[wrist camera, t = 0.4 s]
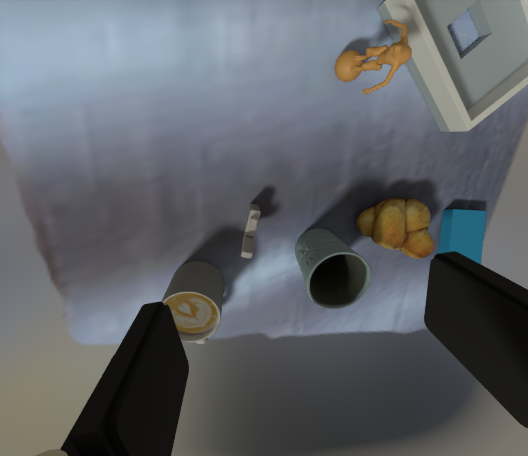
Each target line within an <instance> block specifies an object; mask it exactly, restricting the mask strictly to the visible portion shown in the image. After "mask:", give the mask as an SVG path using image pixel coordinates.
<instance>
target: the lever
mask: <svg viewBox="0 0 528 456" xmlns="http://www.w3.org/2000/svg"><path fill="white" fill-rule="evenodd" d="M485 219H486V211H477V210H458V209H444V211H443V214H442V223H441V233H440V244H439V254H440V253H446V252H451V251H456V252H458V253H460V254H462V255H464V256H466V257H468V258H470V259H471V260H473V261H475V262H477V263H479V264H481V256H482V246H483V237H484V228H485Z"/></svg>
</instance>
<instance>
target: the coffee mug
mask: <svg viewBox="0 0 528 456" xmlns="http://www.w3.org/2000/svg"><path fill="white" fill-rule="evenodd" d="M223 291H224V278H223V276H222V274H221V272H220V271H219V270H218V269H217V268H216V267H215V266H213V265H211V264H209V263H207V262H202V261H193V262H188V263H186V264H184V265H182V266H181V267H180V268H178V270H177V271H176V272H175V274H174V276H173V278H172V280H171V282H170V285H169V287H168V289H167V291H166V293H165V295H164V297H163V299H162V301H161V302H163V303H164V305H169V307H170V309H171V312H172V315H173V318H174V321H175V324H176V327H177V330H178V333H179V336H180V339H181V341H183V342H197V343H198V344H203V343H205V342H207V340H208V337H209V336H211V335H212V334H213V333H214V332H215V331H216V329H217V328H218V326H219V324H220V319H221V311H222V301H223Z"/></svg>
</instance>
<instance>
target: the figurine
mask: <svg viewBox="0 0 528 456" xmlns="http://www.w3.org/2000/svg"><path fill="white" fill-rule="evenodd" d="M384 22H386V23H389V22H390V23H392V24H393V25H394V26H396V27H399V28H402V32H401V40H400V41H399V42H396V43H394V44H392V45H391V46H390V47H389V48H388V47H387V45H384V46H381V47H368V48H367V50H366V55H363V56H362V55H361V54H360V53H359V52H358V51H356V50H347V51H345V52H343V53H342V54H341V55H340V56H339V57H338V59H337V61H336V64H335V73H336V76H337V77H338V78H339V79H340V80H341V81H344V82H349V81H352V80H354V79H356V78H357V77H358V76H359V74H360V73H361V71H367V70H380V69H381V68H382V64H389V65H391V66H392V67H391V70H390V71H389V73H388V75H387V77H386V80H385V81H384V82H382V83H380V84H378V85H375V86H374V87H372V88H371V89H367V88H365V89H366V90H362V91H365V92H362V93H364V94H367V93H370V92H371V91H374V90H376V89H378V88H380V87H383V86H385V85H387V84H388V83H389V81H390V80H391V78H392V77H393V75H394V73H395V72H396V71H397V69H398V68H399V67H400V65H402V64H404V63H406V62H407V61H408V60H409V59H410V57H411V55H412V49H411V47H410V46H409V45H408V38H407V25H406V24H402V23H400V22H398V21H396V20H392V19H391V20H385V21H384ZM384 22H383V23H384ZM372 56H374V57H376V56H378V57H377V61H376V60H370V61H368V62H366V63H364V64H363V60H364V59H369V58H371V57H372Z"/></svg>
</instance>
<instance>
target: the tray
mask: <svg viewBox="0 0 528 456" xmlns="http://www.w3.org/2000/svg"><path fill="white" fill-rule="evenodd" d="M466 9H468V10H469V12H470V15H471V17H472V20H473V22H474V25H475V27H476V29H477V32H478V34H479V37H480V38H479V39H478V40H477V41H476V42H475V43H474V44H472V45H471V46H470V47H469V48H468V49H466V50H465V51H464V52H463V53H462V54H461V55H459V53H458V51H457V49H456V47H455V44H454V42H453V40H452V37H451V35H450V33H449V31H448V28H447V26H448V25H449V24H451V23H452V22H453V21H454V20H455V19H456V18H457V17H458V16H460V15H461V14H462V13H463V12H464V11H465V10H466ZM377 11H378V12H379V14H380V16H381V18H382V20H383V22H384V21H385V20H391V19H392V20H396V21H398V22H400V23H402V24H406V25H407V38H408V45H409V46H410V47H411V49H412V55H411V57H410V59H409V60H408V61H407V62H406V63H405V64H406V66H407V68H408V70H409V72H410V73H411V75H412V77H413V79H414V81H415V83H416V85H417V87H418V89H419V91H420V93H421V94H422V96H423V98H424V100H425V102H426V104H427V106H428V108H429V110H430V112H431V114H432V115H433V117H434V119H435V121H436V123H437V125H438V127H439V129H440V131H441V132H453V131H469V130H470V129H471V128H473V127H474V126H475V125H477V124H478V123H479V122H480V121H482V120H483V119H484V118H485V117H487V116H488V115H489V114H491V113H492V112H493V111H494V110H496V109H497V108H498V107H499V106H501V105H502V104H503V103H504V102H506V101H507V100H508V99H510V98H511V97H512V96H513V95H515V94H516V93H517V92H518V91H520V90H521V89H522V88H523V87H525V86H526V85H527V84H528V0H385V1H384V2H383V3H382V4H381V5H380V6H379V7H378V8H377ZM384 24H385V26H386V28H387V30H388V32H389V33H390V35H391V37H392V39H393V41H394V43H396V42H399V41H400V40H401V32H402V28H399V27H396V26H394V25H393V24H392V23H390V22H389V23H386V22H384Z"/></svg>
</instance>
